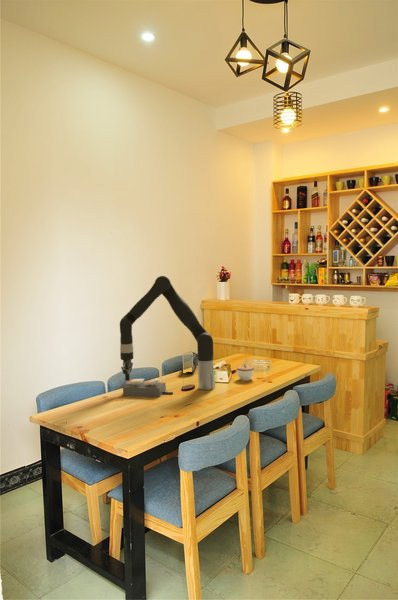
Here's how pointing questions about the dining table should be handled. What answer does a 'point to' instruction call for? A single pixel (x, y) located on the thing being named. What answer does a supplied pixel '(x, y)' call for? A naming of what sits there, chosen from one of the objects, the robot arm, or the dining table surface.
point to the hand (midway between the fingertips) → (127, 380)
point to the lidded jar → (245, 372)
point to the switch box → (145, 390)
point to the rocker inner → (152, 381)
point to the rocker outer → (134, 381)
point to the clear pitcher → (194, 361)
